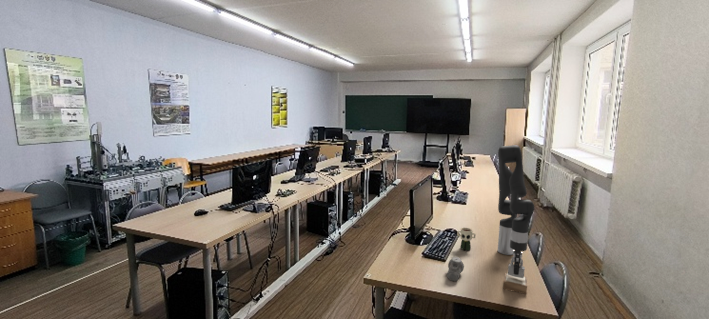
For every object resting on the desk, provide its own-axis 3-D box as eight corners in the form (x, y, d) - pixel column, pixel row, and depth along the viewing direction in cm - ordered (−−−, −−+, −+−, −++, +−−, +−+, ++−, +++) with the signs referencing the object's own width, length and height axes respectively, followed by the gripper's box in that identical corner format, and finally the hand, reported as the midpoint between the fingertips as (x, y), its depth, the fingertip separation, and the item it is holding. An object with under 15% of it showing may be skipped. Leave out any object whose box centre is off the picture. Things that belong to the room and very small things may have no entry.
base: (504, 279, 171) (505, 272, 170) (526, 284, 166) (526, 276, 166) (503, 288, 162) (504, 280, 161) (526, 294, 157) (527, 285, 157)
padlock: (524, 275, 163) (525, 256, 162) (523, 279, 160) (524, 259, 158) (508, 271, 167) (510, 253, 166) (507, 275, 164) (508, 256, 162)
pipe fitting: (448, 268, 181) (450, 252, 178) (463, 273, 178) (465, 256, 175) (443, 281, 171) (445, 263, 168) (459, 286, 167) (461, 268, 164)
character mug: (455, 249, 208) (456, 229, 206) (457, 245, 214) (458, 226, 212) (474, 252, 203) (475, 232, 202) (474, 248, 210) (476, 229, 208)
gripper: (510, 233, 169) (508, 264, 171) (510, 243, 156) (507, 276, 158) (527, 235, 165) (524, 268, 168) (527, 246, 153) (524, 280, 155)
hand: (516, 272), depth 163 cm, fingers closed on padlock, 4 cm apart
